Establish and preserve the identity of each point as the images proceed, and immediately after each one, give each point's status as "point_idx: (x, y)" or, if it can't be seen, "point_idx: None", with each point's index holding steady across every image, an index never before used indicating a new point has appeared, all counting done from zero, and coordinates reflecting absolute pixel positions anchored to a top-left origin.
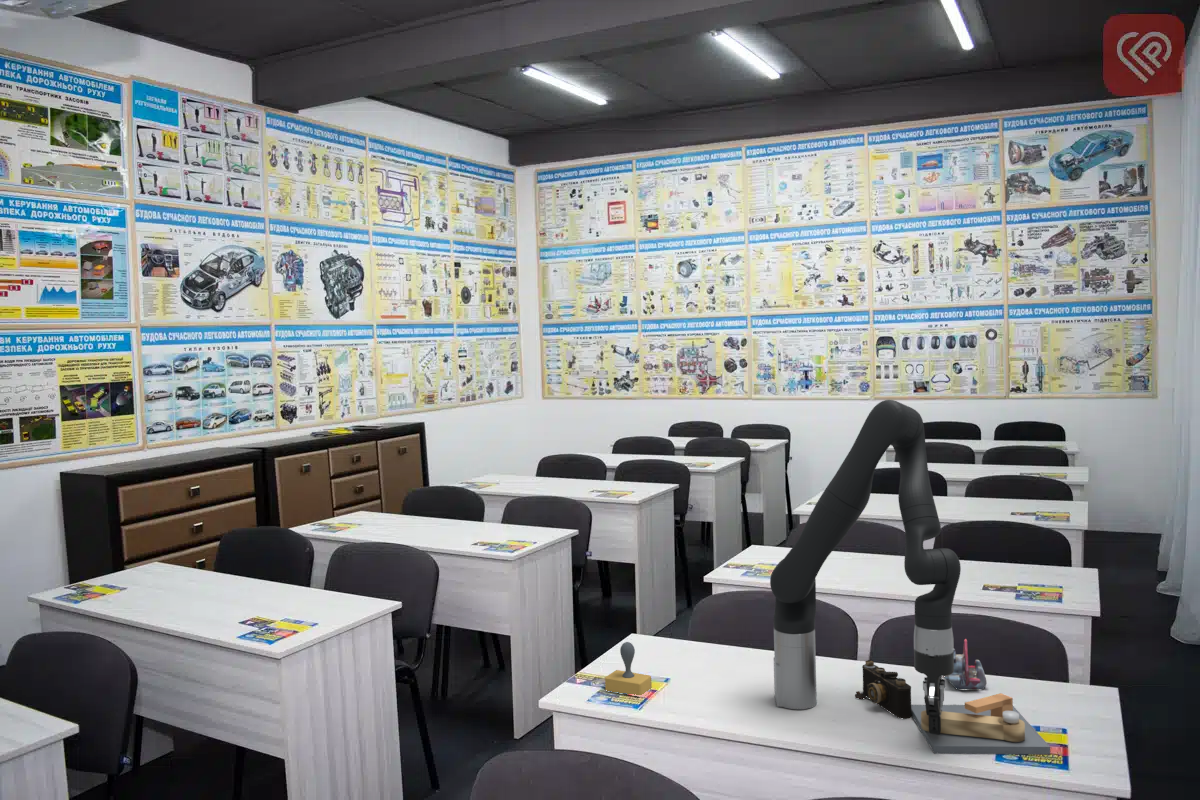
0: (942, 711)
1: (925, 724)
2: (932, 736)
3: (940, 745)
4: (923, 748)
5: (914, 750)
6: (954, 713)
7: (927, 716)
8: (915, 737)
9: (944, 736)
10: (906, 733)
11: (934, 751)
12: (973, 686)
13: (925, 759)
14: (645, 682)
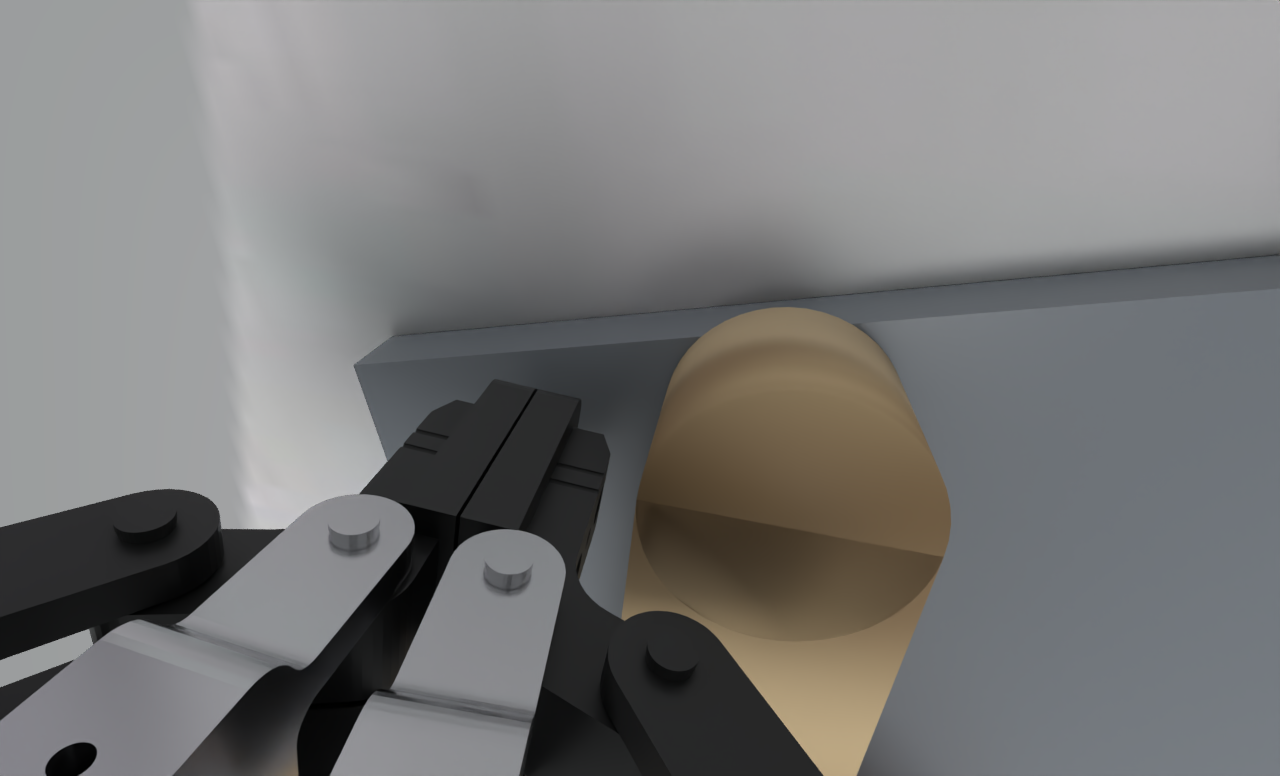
0: (887, 673)
1: (689, 375)
2: (587, 388)
3: (387, 423)
4: (477, 253)
5: (403, 153)
6: (821, 768)
7: (674, 460)
8: (746, 202)
9: (611, 497)
10: (861, 102)
11: (383, 345)
12: None
13: (244, 238)
14: None
